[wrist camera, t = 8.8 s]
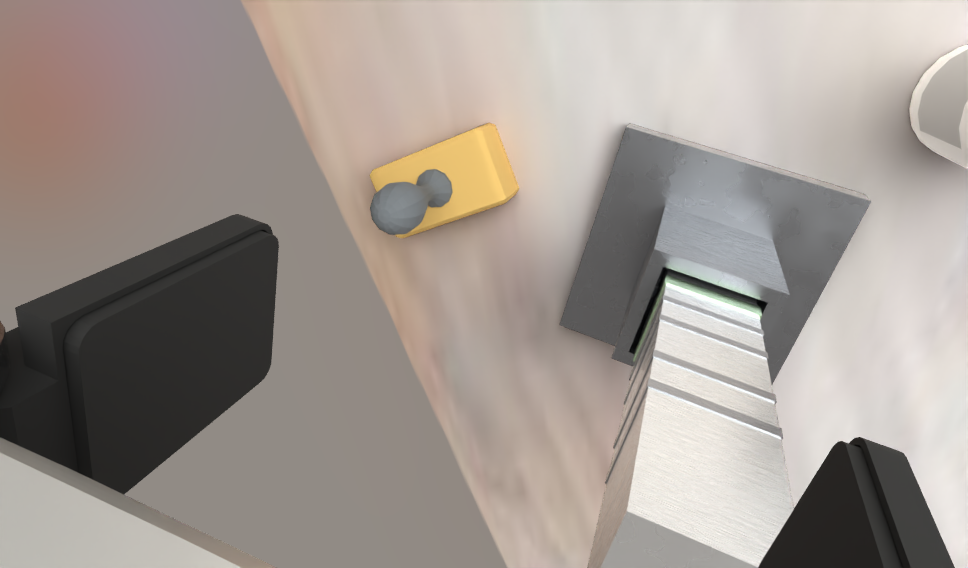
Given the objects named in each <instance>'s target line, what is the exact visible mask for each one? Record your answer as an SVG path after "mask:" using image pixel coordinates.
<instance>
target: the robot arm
mask: <svg viewBox="0 0 968 568" xmlns="http://www.w3.org/2000/svg"><path fill="white" fill-rule="evenodd" d="M278 246H279V245H278V239H277V238H276V237H275V236H274V235H273V233H272V230H271V227H269V225H267V224H265V223H262V222H259V221H256V220H253V219H250V218H248V217H245V216H242V215H239V214H236V215H232V216H229V217H227V218H225V219H223V220H220V221H218V222H215V223H213V224H211V225H208V226H206V227H204V228H201V229H199V230H197V231H194V232H192V233H189V234H187V235H185V236H182V237H180V238H178V239H175V240H173V241H171V242H168V243H166V244H164V245H161V246H159V247H157V248H154V249H152V250H150V251H147V252H145V253H143V254H140V255H138V256H135V257H133V258H131V259H128V260H126V261H124V262H122V263H119V264H117V265H114V266H112V267H110V268H107V269H105V270H103V271H100V272H98V273H96V274H93V275H91V276H89V277H86V278H84V279H82V280H79V281H77V282H75V283H72V284H70V285H68V286H65V287H63V288H60V289H58V290H56V291H53V292H51V293H49V294H46V295H44V296H42V297H39V298H37V299H35V300H32V301H30V302H28V303H25V304H23V305H21V306H18V307H16V308H15V309H16V315H17V321H18V327H17V328H15V329H13V330H11V331H9V332H5V327H4V326H3V324H2V323H1V321H0V568H276V567H274V566H272V565H270V564H268V563H266V562H264V561H262V560H260V559H258V558H256V557H254V556H251V555H249V554H247V553H245V552H243V551H241V550H239V549H237V548H235V547H233V546H230V545H229V544H226V543H224V542H222V541H220V540H218V539H216V538H214V537H212V536H210V535H208V534H206V533H203V532H201V531H199V530H197V529H195V528H193V527H191V526H189V525H186V524H185V523H182V522H180V521H178V520H176V519H174V518H172V517H170V516H168V515H166V514H163V513H161V512H159V511H157V510H155V509H153V508H151V507H149V506H147V505H145V504H142V503H140V502H138V501H136V500H134V499H132V498H130V497H128V496H125V495H124V494H125V493H126V492H128V491H129V490H130V489H131V488H132V487H133V486H135V485H136V484H137V483H138V482H140V481H141V480H142V479H143V478H144V477H146V476H147V475H148V474H149V473H151V472H152V471H153V470H154V469H155V468H156V467H158V466H159V465H160V464H162V463H163V462H164V461H165V460H166V459H167V458H169V457H170V456H171V455H172V454H174V453H175V452H176V451H177V450H178V449H180V448H181V447H182V446H183V445H185V444H186V443H187V442H188V441H189V440H191V439H192V438H193V437H194V436H196V435H197V434H198V433H199V432H200V431H202V430H203V429H204V428H205V427H206V426H208V425H209V424H210V423H211V422H212V421H214V420H215V419H216V418H217V417H219V416H220V415H221V414H222V413H223V412H225V411H226V410H227V409H228V408H230V407H231V406H232V405H233V404H234V403H235V402H237V401H238V400H239V399H241V398H242V397H243V396H244V395H245V394H246V393H248V392H249V391H250V390H251V389H253V388H254V387H255V386H256V385H258V384H259V383H260V382H261V381H262V380H263V379H264V378H265V376H266V375H267V373H268V371H269V368H270V365H271V357H272V342H273V326H274V325H273V324H274V311H275V294H276V279H277V263H278V248H279V247H278ZM758 568H955V567H954V565H953V563H952V560H951V558H950V556H949V554H948V551H947V549H946V547H945V544H944V542H943V540H942V538H941V535H940V533H939V531H938V528H937V526H936V524H935V522H934V519H933V517H932V515H931V512H930V510H929V508H928V506H927V503H926V501H925V499H924V496H923V494H922V492H921V490H920V487H919V485H918V483H917V480H916V478H915V476H914V474H913V471H912V469H911V467H910V464H909V462H908V460H907V458H906V456H905V455H904V453H902V452H900V451H897V450H894V449H892V448H889V447H886V446H883V445H880V444H878V443H875V442H872V441H869V440H866V439H864V438H861V437H858V438H854V439H853V440H852V441H851V442H850V443H849V444H848V443H845V442H843V441H840V442H837V443H836V444H835V445H834V446H833V448H832V449H831V451H830V452H829V454H828V455H827V457H826V459H825V460H824V462H823V463H822V465H821V467H820V468H819V470H818V471H817V473H816V475H815V476H814V478H813V479H812V481H811V483H810V484H809V486H808V487H807V489H806V491H805V492H804V494H803V495H802V497H801V499H800V500H799V502H798V503H797V505H796V507H795V508H794V510H793V511H792V513H791V515H790V516H789V518H788V519H787V521H786V523H785V524H784V526H783V527H782V529H781V531H780V532H779V534H778V535H777V537H776V539H775V540H774V542H773V543H772V545H771V547H770V548H769V550H768V551H767V553H766V555H765V556H764V558H763V559H762V561H761V563H760V565H759V567H758Z"/></svg>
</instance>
